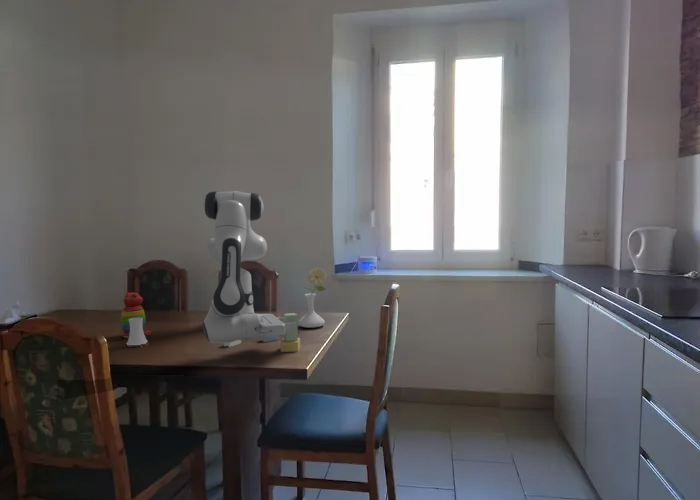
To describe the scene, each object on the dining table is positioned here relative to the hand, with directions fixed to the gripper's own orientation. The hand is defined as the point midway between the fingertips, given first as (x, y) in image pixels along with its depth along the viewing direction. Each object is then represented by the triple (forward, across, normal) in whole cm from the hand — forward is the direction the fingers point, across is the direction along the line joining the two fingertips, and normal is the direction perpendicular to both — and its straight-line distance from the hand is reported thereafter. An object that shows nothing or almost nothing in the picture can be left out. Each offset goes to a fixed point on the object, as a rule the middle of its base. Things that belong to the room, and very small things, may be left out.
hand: (292, 322), depth 173 cm
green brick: (-1, 0, +6) cm, 6 cm away
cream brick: (-19, +16, +10) cm, 27 cm away
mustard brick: (-1, 0, +10) cm, 10 cm away
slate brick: (-5, +16, +10) cm, 19 cm away
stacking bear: (-53, +49, +10) cm, 73 cm away
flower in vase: (+16, +30, +10) cm, 35 cm away
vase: (-52, +32, +10) cm, 62 cm away
